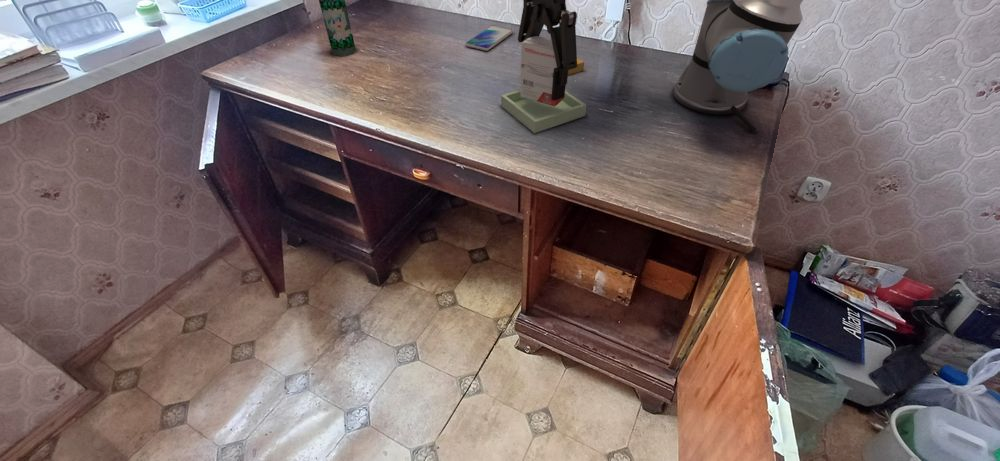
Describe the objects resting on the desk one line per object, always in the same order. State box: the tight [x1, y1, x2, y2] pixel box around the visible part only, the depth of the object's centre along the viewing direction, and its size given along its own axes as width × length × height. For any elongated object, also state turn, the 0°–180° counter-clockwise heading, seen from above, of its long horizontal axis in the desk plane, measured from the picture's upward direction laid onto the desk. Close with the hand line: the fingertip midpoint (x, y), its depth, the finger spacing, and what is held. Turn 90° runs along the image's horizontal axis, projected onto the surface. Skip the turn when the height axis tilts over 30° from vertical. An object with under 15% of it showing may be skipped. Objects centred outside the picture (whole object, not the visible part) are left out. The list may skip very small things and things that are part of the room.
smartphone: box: [465, 25, 514, 52], centre depth 129 cm, size 7×1×15 cm
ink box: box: [520, 35, 567, 106], centre depth 95 cm, size 9×5×12 cm, turn 57°
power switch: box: [568, 57, 585, 76], centre depth 114 cm, size 8×12×4 cm, turn 121°
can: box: [318, 0, 357, 57], centre depth 120 cm, size 6×6×15 cm
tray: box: [500, 89, 587, 134], centre depth 100 cm, size 13×13×3 cm
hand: (543, 88), depth 98 cm, fingers closed on ink box, 9 cm apart
